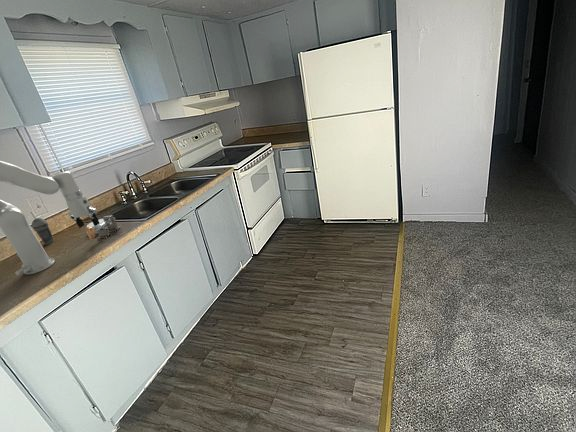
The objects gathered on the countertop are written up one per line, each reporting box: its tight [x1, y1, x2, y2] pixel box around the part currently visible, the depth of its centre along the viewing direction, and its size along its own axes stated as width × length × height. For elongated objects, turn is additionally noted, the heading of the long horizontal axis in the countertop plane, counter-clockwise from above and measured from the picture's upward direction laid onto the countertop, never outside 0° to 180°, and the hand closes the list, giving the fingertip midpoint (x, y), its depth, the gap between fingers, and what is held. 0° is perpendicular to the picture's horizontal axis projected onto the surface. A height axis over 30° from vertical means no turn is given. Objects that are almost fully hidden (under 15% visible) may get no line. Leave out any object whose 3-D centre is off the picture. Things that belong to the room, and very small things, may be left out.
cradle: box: [97, 229, 111, 240], centre depth 169 cm, size 4×5×5 cm
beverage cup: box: [30, 211, 55, 245], centre depth 173 cm, size 7×7×20 cm
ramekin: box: [86, 218, 108, 235], centre depth 180 cm, size 11×11×5 cm
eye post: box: [102, 214, 121, 233], centre depth 175 cm, size 5×6×9 cm
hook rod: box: [84, 217, 116, 241], centre depth 169 cm, size 20×4×6 cm, turn 171°
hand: (89, 225), depth 160 cm, fingers open, 9 cm apart
